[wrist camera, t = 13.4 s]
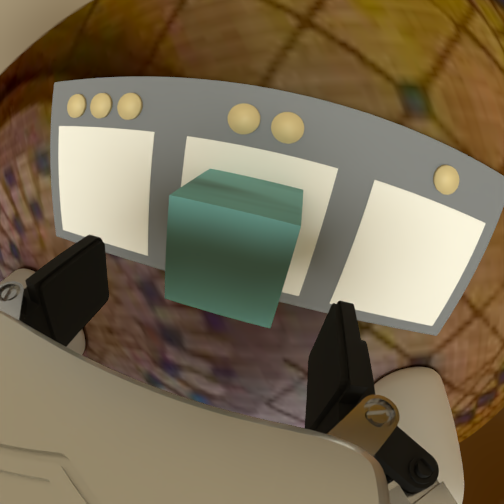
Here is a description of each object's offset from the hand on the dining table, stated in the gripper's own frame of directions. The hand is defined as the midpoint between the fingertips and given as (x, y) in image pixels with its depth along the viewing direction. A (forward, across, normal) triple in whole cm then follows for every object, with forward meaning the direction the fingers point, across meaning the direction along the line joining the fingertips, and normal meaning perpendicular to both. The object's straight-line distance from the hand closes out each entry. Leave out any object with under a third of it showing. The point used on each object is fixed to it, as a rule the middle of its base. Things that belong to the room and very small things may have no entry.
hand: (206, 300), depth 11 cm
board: (+7, 0, -2) cm, 8 cm away
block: (+6, 0, -1) cm, 6 cm away
